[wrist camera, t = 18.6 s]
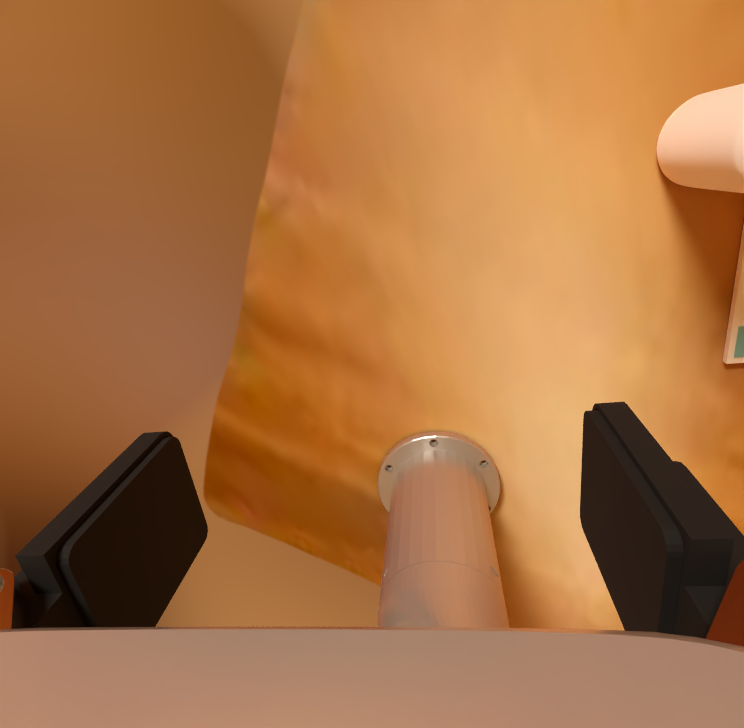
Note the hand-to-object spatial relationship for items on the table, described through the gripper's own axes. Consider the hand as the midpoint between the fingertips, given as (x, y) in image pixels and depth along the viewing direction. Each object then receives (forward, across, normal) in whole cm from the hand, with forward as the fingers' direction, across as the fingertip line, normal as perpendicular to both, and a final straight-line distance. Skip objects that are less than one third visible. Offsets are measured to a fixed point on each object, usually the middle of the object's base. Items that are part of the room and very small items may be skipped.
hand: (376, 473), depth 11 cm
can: (+34, -22, -5) cm, 40 cm away
